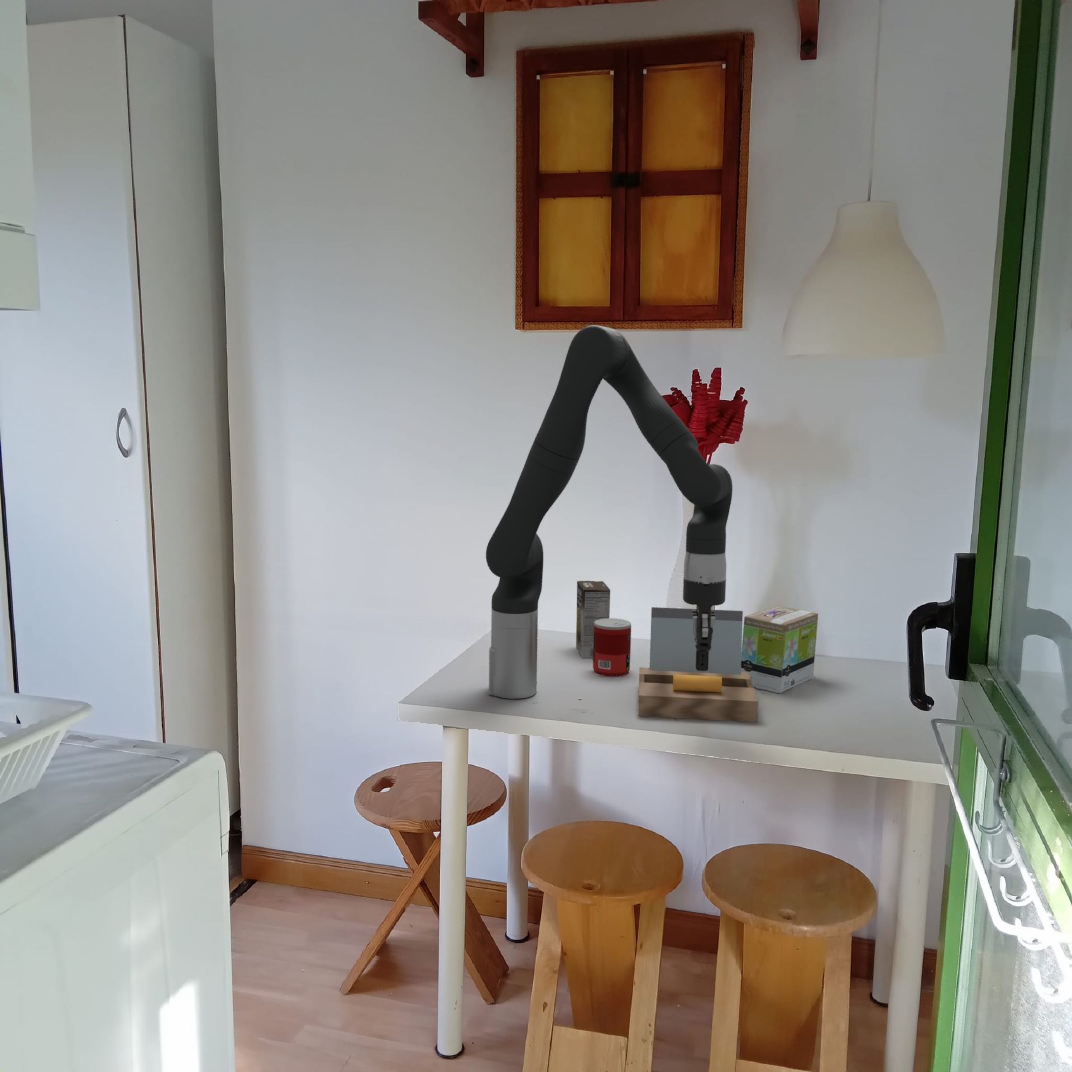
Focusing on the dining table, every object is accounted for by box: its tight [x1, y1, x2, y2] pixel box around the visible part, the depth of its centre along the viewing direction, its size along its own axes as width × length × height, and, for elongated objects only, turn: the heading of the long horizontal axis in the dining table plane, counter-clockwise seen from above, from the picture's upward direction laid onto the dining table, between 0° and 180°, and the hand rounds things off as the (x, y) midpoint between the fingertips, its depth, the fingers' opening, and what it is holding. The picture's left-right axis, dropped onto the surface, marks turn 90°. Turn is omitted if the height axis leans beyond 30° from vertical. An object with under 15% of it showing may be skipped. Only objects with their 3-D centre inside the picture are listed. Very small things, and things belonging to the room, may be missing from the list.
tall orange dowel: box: [673, 674, 722, 693], centre depth 186 cm, size 9×3×3 cm
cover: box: [649, 606, 744, 675], centre depth 195 cm, size 18×13×1 cm
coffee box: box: [575, 580, 611, 659], centre depth 224 cm, size 9×6×16 cm
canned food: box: [592, 617, 632, 678], centre depth 210 cm, size 8×8×11 cm
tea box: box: [741, 605, 819, 694], centre depth 205 cm, size 15×10×15 cm
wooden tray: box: [637, 667, 759, 723], centre depth 191 cm, size 22×18×4 cm
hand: (701, 669), depth 177 cm, fingers closed
